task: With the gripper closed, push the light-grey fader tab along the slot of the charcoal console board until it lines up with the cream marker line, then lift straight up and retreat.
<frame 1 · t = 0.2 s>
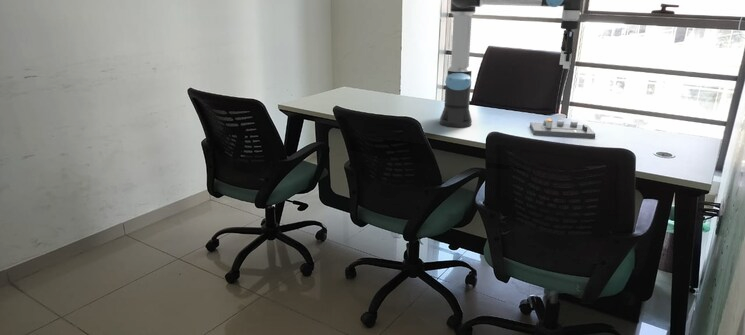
hand: (564, 66, 251), 27 cm above the table, fingers open, 13 cm apart
console: (561, 132, 243), on the table
fader: (549, 123, 241), point 4 cm above the table, slide at 0.0 cm
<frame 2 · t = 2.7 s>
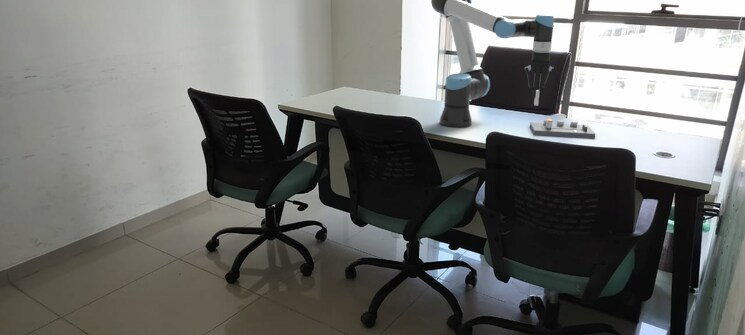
hand: (536, 104, 239), 12 cm above the table, fingers closed
nothing on the table moved.
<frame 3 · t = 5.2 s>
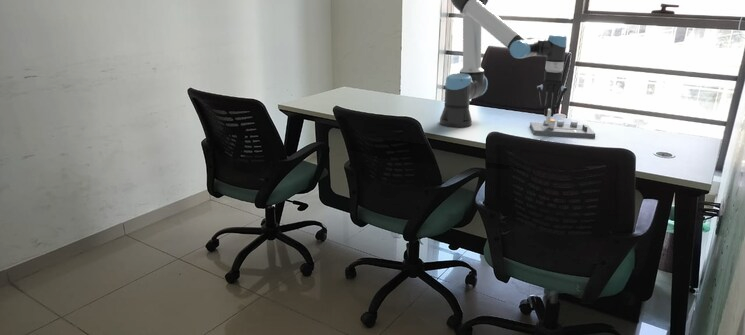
hand: (547, 123, 241), 4 cm above the table, fingers closed
fader: (551, 123, 241), point 4 cm above the table, slide at 1.1 cm, touching gripper
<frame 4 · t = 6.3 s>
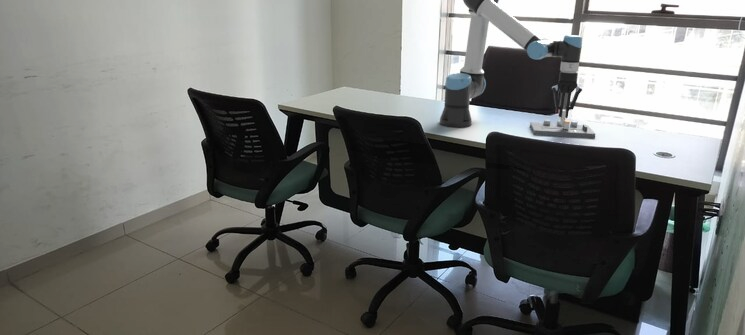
hand: (562, 124, 240), 4 cm above the table, fingers closed
fader: (566, 124, 240), point 4 cm above the table, slide at 7.4 cm, touching gripper
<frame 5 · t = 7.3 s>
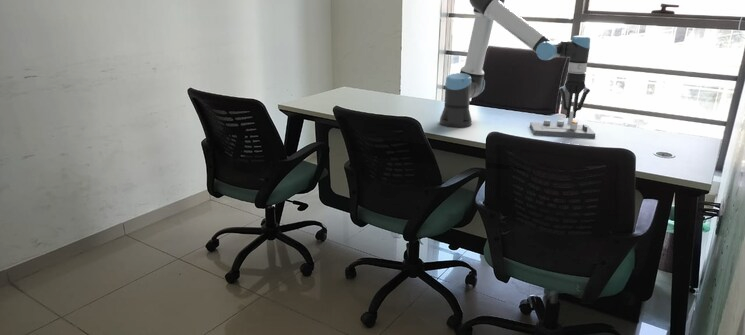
hand: (569, 124, 239), 4 cm above the table, fingers closed
fader: (573, 124, 239), point 4 cm above the table, slide at 10.7 cm, touching gripper
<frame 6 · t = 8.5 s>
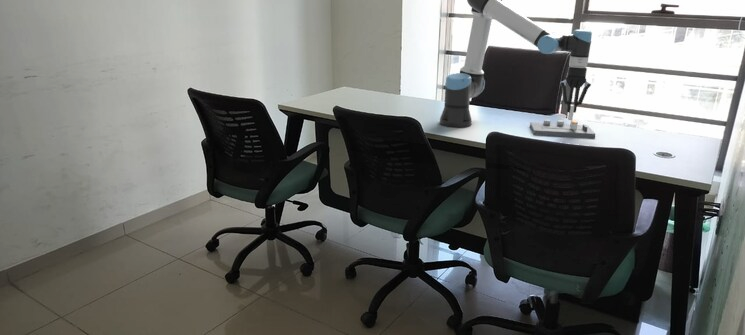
hand: (570, 119, 239), 6 cm above the table, fingers closed
fader: (573, 124, 239), point 4 cm above the table, slide at 10.8 cm
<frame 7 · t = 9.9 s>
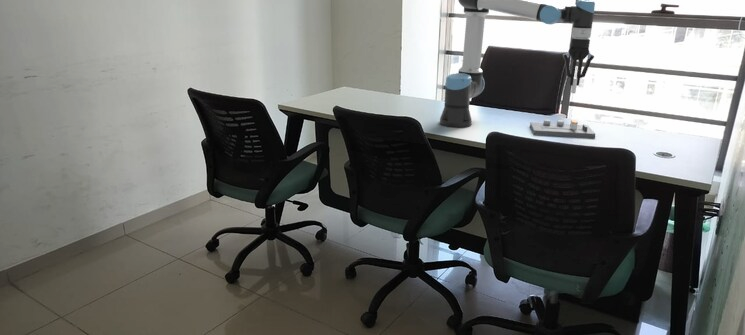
hand: (573, 92, 235), 19 cm above the table, fingers closed
nothing on the table moved.
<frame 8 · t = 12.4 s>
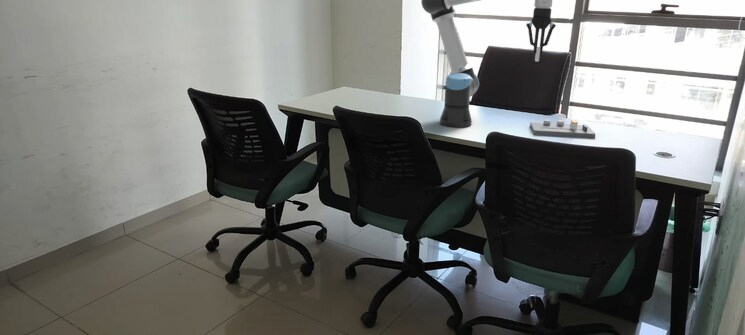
hand: (536, 61, 245), 30 cm above the table, fingers closed
nothing on the table moved.
at the end: fader slide at 10.8 cm; fader touching nothing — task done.
